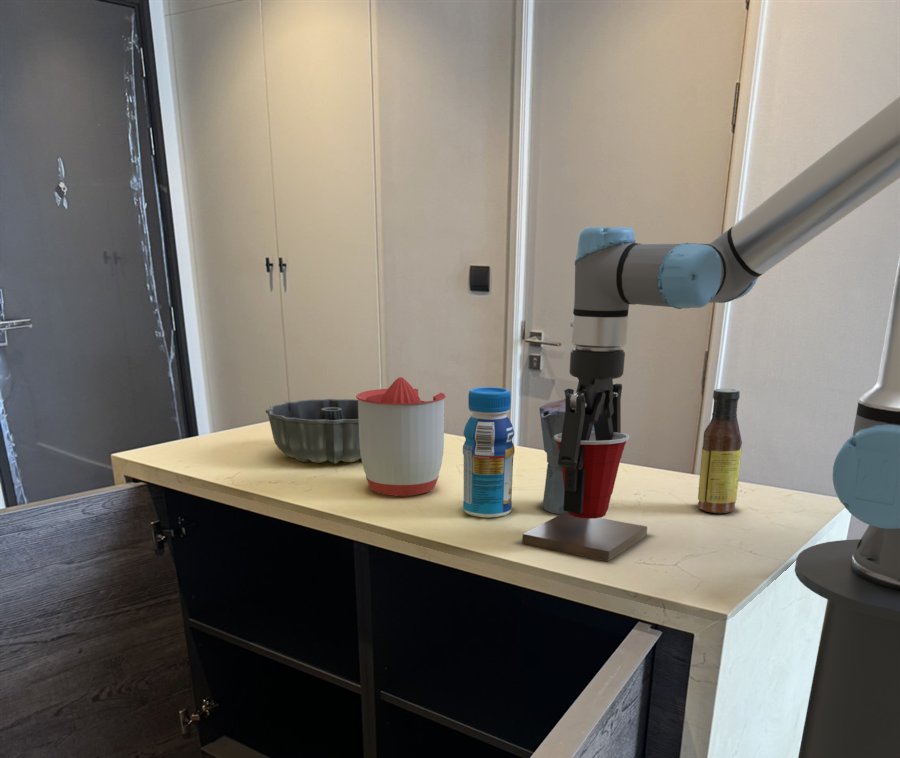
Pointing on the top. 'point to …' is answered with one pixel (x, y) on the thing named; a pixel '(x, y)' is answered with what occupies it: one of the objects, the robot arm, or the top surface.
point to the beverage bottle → (488, 453)
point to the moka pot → (553, 453)
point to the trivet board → (585, 536)
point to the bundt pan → (317, 429)
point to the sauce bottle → (721, 455)
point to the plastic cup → (598, 472)
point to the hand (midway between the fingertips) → (587, 504)
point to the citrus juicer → (401, 439)
